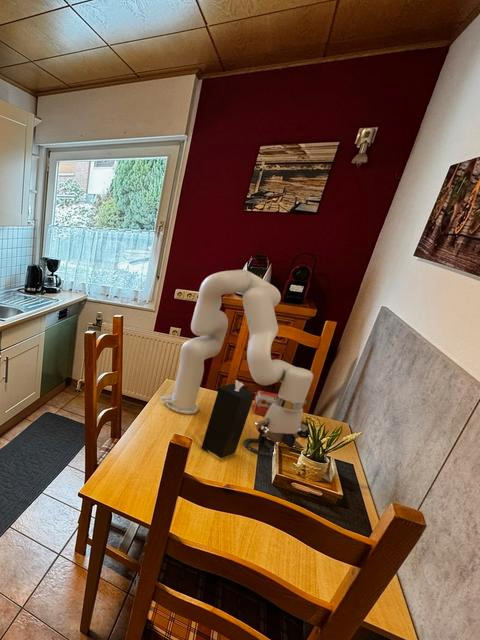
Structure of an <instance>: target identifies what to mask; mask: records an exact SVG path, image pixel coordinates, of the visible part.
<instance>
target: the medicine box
mask: <svg viewBox="0 0 480 640" xmlns="http://www.w3.org/2000/svg"><path fill="white" fill-rule="evenodd" d="M277 396H278V393H274V392H269V391H266V390H265V391H264V390H258V391H257V394H256V395H255V397H254V401H253V413H254V414H257V415H260V416H264V417H265V415H266V413H267V411H268V409H269V407H270V406H271V404H272V403H275V402H276V399H277Z"/></svg>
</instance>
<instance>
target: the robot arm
mask: <svg viewBox="0 0 480 640" xmlns="http://www.w3.org/2000/svg"><path fill="white" fill-rule="evenodd" d="M231 294H232V295H233V294H239V295H241V296H242V307H243V311H244V315H245V320H246V324H247V329H248V332H249V336H248V341H247V348H246V361H247V365H248V369H249V373H250V376H251V378H252V379H253V381H254V382H255V383H256V384H258V385H260V386H270V385H273V384H275V383H276V384H277V383H281V384H280V387H279V390H278V393H277V394H278V396H277V399H276V402H275V403H272V404H271V406H270V407H269V409H268V411H267V413H266V415H265V416H264V417H263V419H262V420H258V421H256V422H255V423H254V426H255V428H256V431H257V432H258V433H259V434H258V437H257V439H258V443H257V444H259V445H260V446H261V447H266V446H265V443H266V442H267V439H268V437H267V435H268V434H269V433H285V434H288V436H287V439H286V441H285V444H286V445H287V446H289V447H292V448H291V449H294V448H293V445H294V443H295V440H296V441H297V439H299V437H300V435H302V434H303V433H304V432H305V431H306V430H307V429H308V427H307V426H305V425H304V424H302V423H301V421H303V415H304V408H303V407H304V405H307V403H308V402H307V400H306V398H307V396H308V392H309V390H310V388H311V385H312V382H313V379H314V374H313V372H312V371H311V370H309V369H306V368H303V367H298V366H295V365H293V364H290V363H288V362H286V361H284V360H282V359H272V353H271V352H272V351H271V350H272V344H273V342H274V340H275V338H276V336H277V335H278V332H279V324H278V320H277V316H276V312H275V307H276V306H277V305H279V303H280V302H281V298H282V296H281V292H280V291H279V289H278V288H277V287H276V286H274V285H273V284H271V283H270V282H268V281H266V280H265V279H263V278H261V277H260V276H258V275H256V274H254V273H253V272H251V271H249V270H247V269H234V270H231V269H230V270H224V271H223V270H222V271H218V272H215V273H212V274H210V275H208V276H207V277H206V278H205V279H204V280H203V281H202V282H201V283H200V286H199V289H198V296H197V299H196V300H197V301H196V304H195V306H194V311H193V315H192V319H191V323H190V330H191V332H192V333H193V334H194V335H195V336H197V337H192V338H189V339H188V340H186V341H185V342H184V343H183V344H182V346H181V348H180V353H179V355H180V357H179V364H178V369H177V373H176V377H175V381H174V382H175V383H174V386H173V390H172V393H170V394H169V395H168V396H164V395H163V396H162V395H161V396H159V401H161V402H164V404H166V406H167V407H168V408H169V409H170V410H172V411H174V412H176V413H179V414H182V415H183V414H184V415H194V414H196V413H198V411H199V407H198V405H197V404H196V402H197V399H198V395H199V392H200V388H201V386H202V385H201V384H202V381H203V376H204V373H205V360H207V359H211V358H213V357H215V356H217V355H219V353H220V352H221V350H222V347H223V344H224V342H225V338H226V334H227V331H228V327H229V319H228V316H227V314H226V313H225V312H224V311H222V310H220V309H221V307H222V296H223V295H231Z"/></svg>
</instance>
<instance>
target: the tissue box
mask: <svg viewBox="0 0 480 640" xmlns="http://www.w3.org/2000/svg"><path fill="white" fill-rule="evenodd" d="M244 386H245V384H244V383H243V382H241V381H239V380H238V379H235V383H230V384H226V385H223V386H219V387H218V389H217V393H216V397H215V400H214V403H213V406H212V409H211V414H210V417H209V420H208V424H207V426H206V430H205V433H204V437H203V440H202V443H201V449H202V450H203V451H205V452H207V453H208V454H209V453H212V454H214V455H215V456H217V457H218V458H220V459H224V458H227V457H228V456H231V455H234V454H236V453H237V449H238V445H239V444H240V443H239V442H240V440H241V436H242V434H243V431H244V428H245V425H246V422H247V419H248V417H249V414H250V411H251V408H252V404H253V403H254V400H255V397H256V392H254V391H251V390H249V389H246V388H245V387H244Z"/></svg>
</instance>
